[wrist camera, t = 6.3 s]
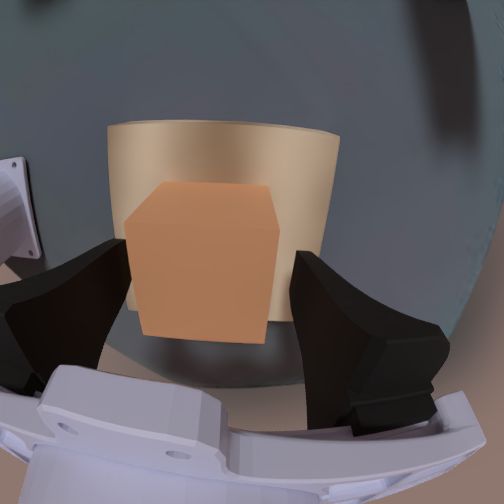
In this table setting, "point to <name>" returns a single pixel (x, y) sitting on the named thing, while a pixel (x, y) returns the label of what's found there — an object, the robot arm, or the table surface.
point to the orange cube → (204, 260)
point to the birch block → (231, 177)
